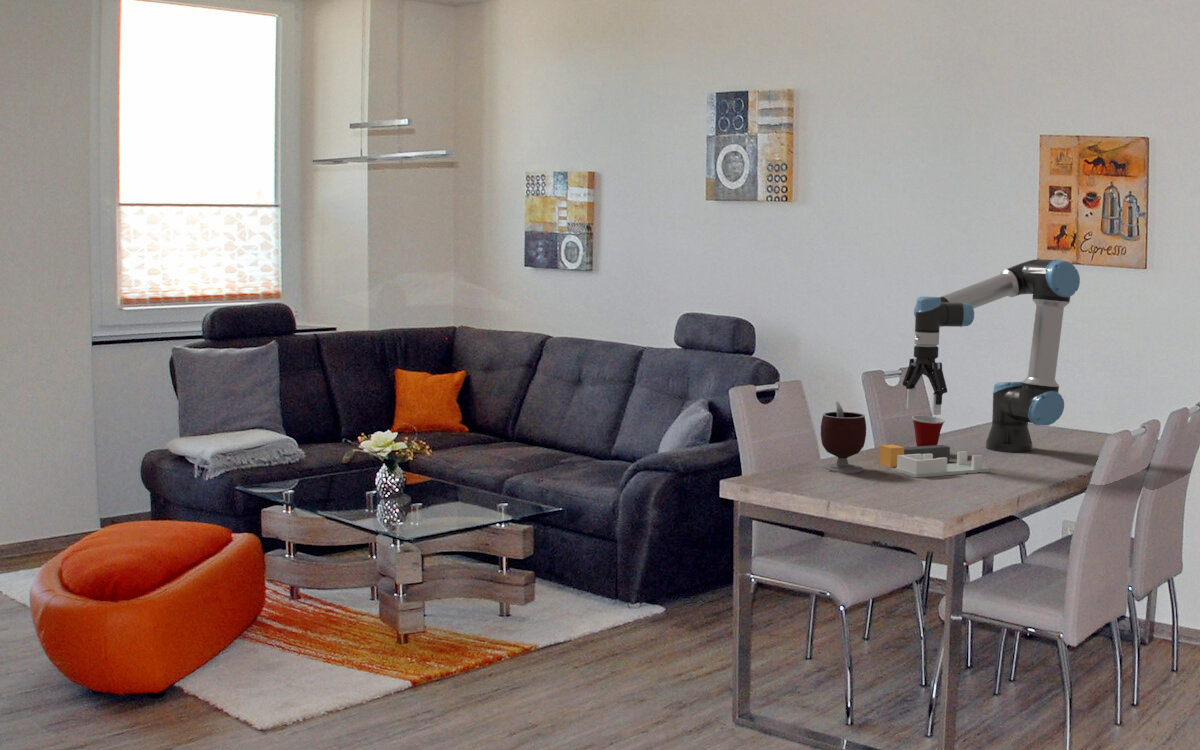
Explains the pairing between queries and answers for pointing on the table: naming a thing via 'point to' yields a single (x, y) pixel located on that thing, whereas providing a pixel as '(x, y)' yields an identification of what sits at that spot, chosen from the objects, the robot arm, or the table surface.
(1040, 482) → the table surface
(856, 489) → the table surface
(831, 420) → the mate gourd
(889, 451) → the bar
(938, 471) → the board
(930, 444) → the plastic cup
